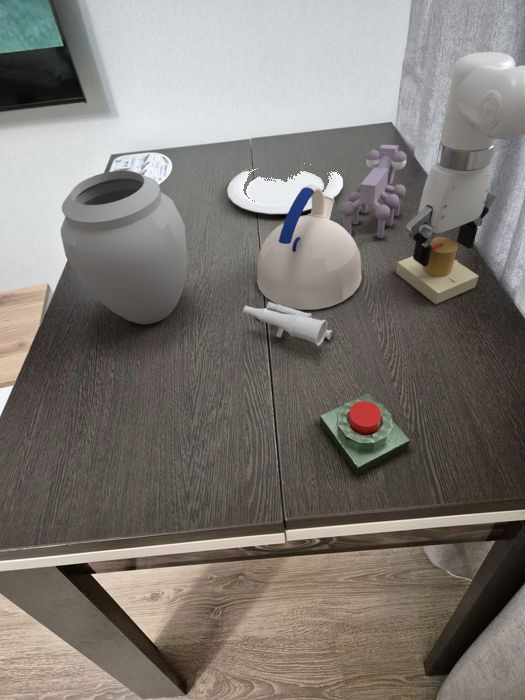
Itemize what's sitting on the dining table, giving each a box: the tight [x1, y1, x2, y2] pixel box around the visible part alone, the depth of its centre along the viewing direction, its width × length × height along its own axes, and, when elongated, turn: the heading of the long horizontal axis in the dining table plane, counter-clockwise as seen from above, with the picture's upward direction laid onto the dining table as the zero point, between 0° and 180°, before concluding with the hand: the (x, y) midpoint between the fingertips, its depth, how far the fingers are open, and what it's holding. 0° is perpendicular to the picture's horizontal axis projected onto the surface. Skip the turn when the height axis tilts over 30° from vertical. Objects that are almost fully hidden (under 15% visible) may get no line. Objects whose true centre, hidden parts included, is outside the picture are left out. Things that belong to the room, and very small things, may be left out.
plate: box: [226, 163, 344, 216], centre depth 110 cm, size 29×29×2 cm
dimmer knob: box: [423, 236, 459, 277], centre depth 78 cm, size 5×5×5 cm
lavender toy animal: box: [340, 144, 408, 239], centre depth 94 cm, size 20×11×14 cm, turn 150°
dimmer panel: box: [395, 255, 480, 305], centre depth 80 cm, size 11×9×3 cm
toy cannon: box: [242, 301, 333, 347], centre depth 72 cm, size 8×14×5 cm
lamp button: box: [349, 401, 381, 434], centre depth 56 cm, size 4×4×2 cm
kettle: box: [256, 184, 363, 311], centre depth 79 cm, size 20×21×18 cm
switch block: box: [319, 392, 411, 476], centre depth 58 cm, size 9×8×4 cm
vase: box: [60, 170, 188, 325], centre depth 74 cm, size 20×20×24 cm
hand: (442, 253), depth 77 cm, fingers open, 9 cm apart
